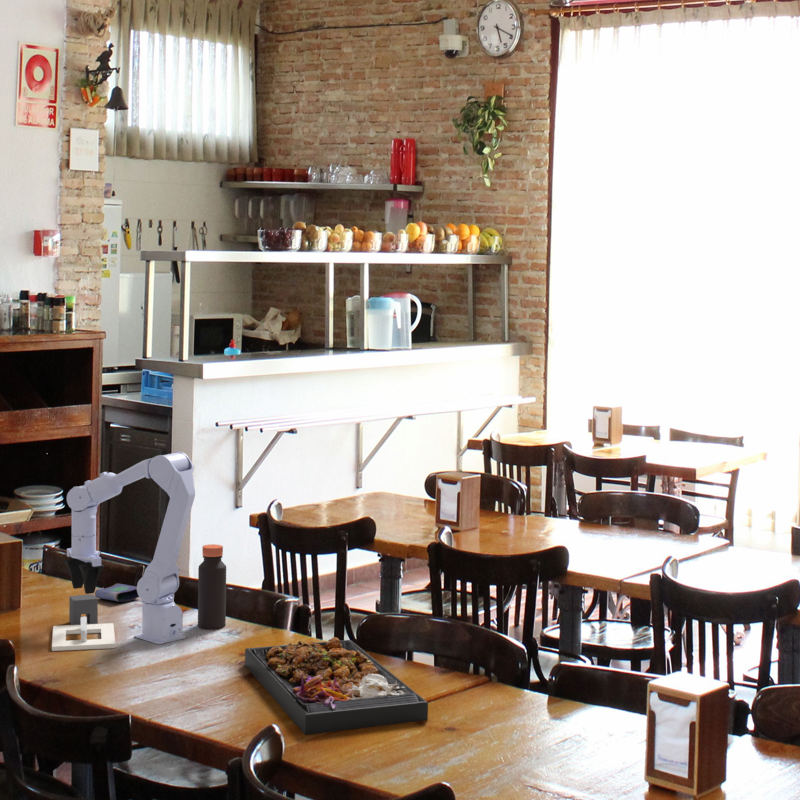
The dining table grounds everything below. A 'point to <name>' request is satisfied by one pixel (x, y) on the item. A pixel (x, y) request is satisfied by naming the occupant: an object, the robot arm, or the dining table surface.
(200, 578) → the bottle
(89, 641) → the cream frame with handle
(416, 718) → the food platter
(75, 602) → the notched grey block
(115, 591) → the blue flat box
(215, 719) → the dining table surface
